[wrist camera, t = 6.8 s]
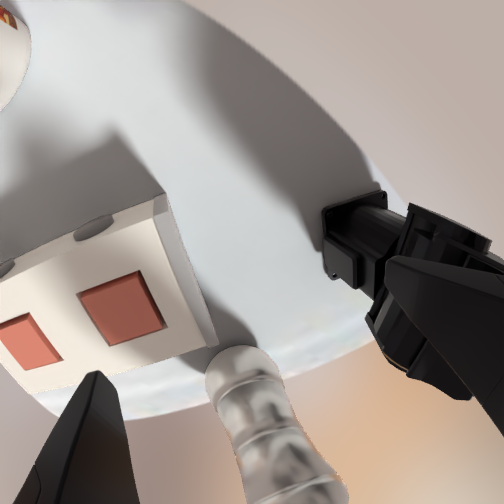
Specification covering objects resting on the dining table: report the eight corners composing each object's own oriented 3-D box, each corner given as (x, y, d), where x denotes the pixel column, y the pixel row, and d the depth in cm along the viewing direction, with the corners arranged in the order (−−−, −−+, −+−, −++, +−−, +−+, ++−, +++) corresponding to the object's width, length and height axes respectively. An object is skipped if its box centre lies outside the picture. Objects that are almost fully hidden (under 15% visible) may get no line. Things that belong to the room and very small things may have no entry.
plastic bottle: (221, 393, 26) (297, 573, 9) (185, 357, 22) (264, 591, 5) (277, 364, 26) (383, 536, 9) (252, 322, 23) (385, 547, 6)
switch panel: (165, 189, 17) (167, 207, 13) (207, 307, 21) (219, 344, 17) (-20, 273, 14) (-44, 302, 10) (39, 361, 18) (29, 397, 14)
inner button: (138, 262, 15) (137, 278, 14) (160, 310, 17) (162, 327, 16) (86, 282, 15) (81, 298, 13) (112, 326, 17) (110, 344, 15)
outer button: (35, 303, 14) (27, 319, 12) (62, 343, 16) (57, 361, 14) (3, 316, 13) (-6, 332, 12) (30, 353, 15) (24, 370, 13)
